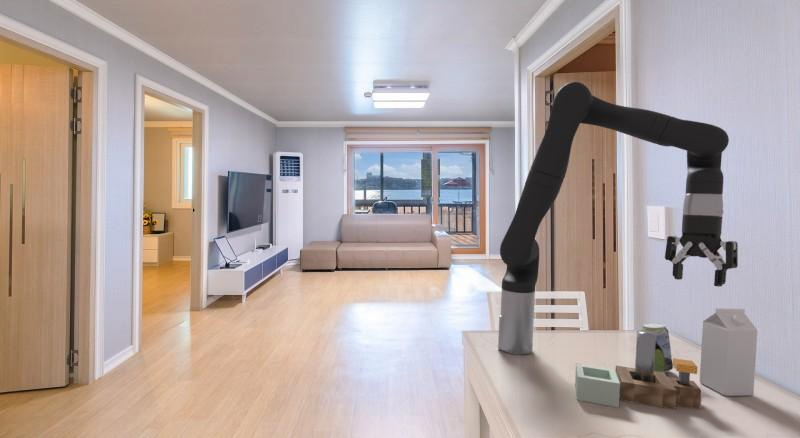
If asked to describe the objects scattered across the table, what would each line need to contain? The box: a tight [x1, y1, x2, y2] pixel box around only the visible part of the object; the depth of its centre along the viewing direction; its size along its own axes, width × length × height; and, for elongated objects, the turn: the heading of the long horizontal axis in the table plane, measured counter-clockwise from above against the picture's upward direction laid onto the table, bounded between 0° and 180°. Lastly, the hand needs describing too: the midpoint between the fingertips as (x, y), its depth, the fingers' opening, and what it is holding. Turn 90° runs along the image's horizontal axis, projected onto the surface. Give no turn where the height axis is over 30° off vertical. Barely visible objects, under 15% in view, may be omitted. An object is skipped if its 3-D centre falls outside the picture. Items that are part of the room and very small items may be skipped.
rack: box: [574, 363, 620, 408], centre depth 91 cm, size 8×8×5 cm
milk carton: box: [699, 307, 758, 397], centre depth 96 cm, size 7×7×19 cm
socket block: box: [614, 365, 702, 410], centre depth 91 cm, size 15×10×4 cm, turn 70°
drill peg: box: [634, 329, 656, 383], centre depth 92 cm, size 4×4×14 cm
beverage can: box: [640, 322, 674, 374], centre depth 106 cm, size 6×7×12 cm
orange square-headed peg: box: [672, 357, 698, 386], centre depth 89 cm, size 4×4×6 cm
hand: (697, 282), depth 97 cm, fingers open, 8 cm apart
